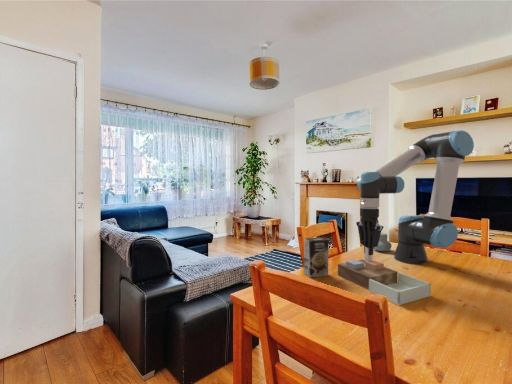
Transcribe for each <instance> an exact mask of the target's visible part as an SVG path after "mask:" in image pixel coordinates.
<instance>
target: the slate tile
mask: <svg viewBox="0 0 512 384" xmlns="http://www.w3.org/2000/svg"><path fill="white" fill-rule="evenodd" d="M345 263H346V266H348V267H350V268H353V269H360V268H364V263H362V262H360V261H357V259H350V260H346V261H345Z"/></svg>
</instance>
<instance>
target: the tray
mask: <svg viewBox="0 0 512 384" xmlns="http://www.w3.org/2000/svg"><path fill="white" fill-rule="evenodd" d="M431 286H432V284H431V283H430V282H427V281H426V280H422V279H419V278H416V277H412V276H410V275H408V274H405V273H402V272H398V280H397V283H393V284H389V285H383V284H381V283H379V282H376V281H374V280H372V279H369V290H368V292H369V293H373V295H376V294H381V295H384V296H386V297H387V298H388V300H387V301H389V302H391V303H392V304H395V305H397V306H401V305H405V304H408V303H411V302H415V301H419V300H422V299H426V298H428V297H431Z"/></svg>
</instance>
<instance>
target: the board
mask: <svg viewBox="0 0 512 384" xmlns="http://www.w3.org/2000/svg"><path fill="white" fill-rule="evenodd" d="M356 260H357V259H356ZM357 261H360V262H362V263H364V268H360V269H353V268H350V267H348V266H346V262H341V263H338V264H337V276H338V277H340V278H343V279H344V280H347V281H349V282H352V283H354V284H356V285H358V286H360V287H362V288H363V289H365V290H368V291H369V279H372V280H374V281H376V282H379V283H381V284H383V285H389V284H393V283H397V282H398V273H399V271H397V270H394V269H391V268H389V267H386V266H384V268H382V269H377V270H374V269H371V268H368V267H366V266H365V263H366V262H365V259H358V260H357Z"/></svg>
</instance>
